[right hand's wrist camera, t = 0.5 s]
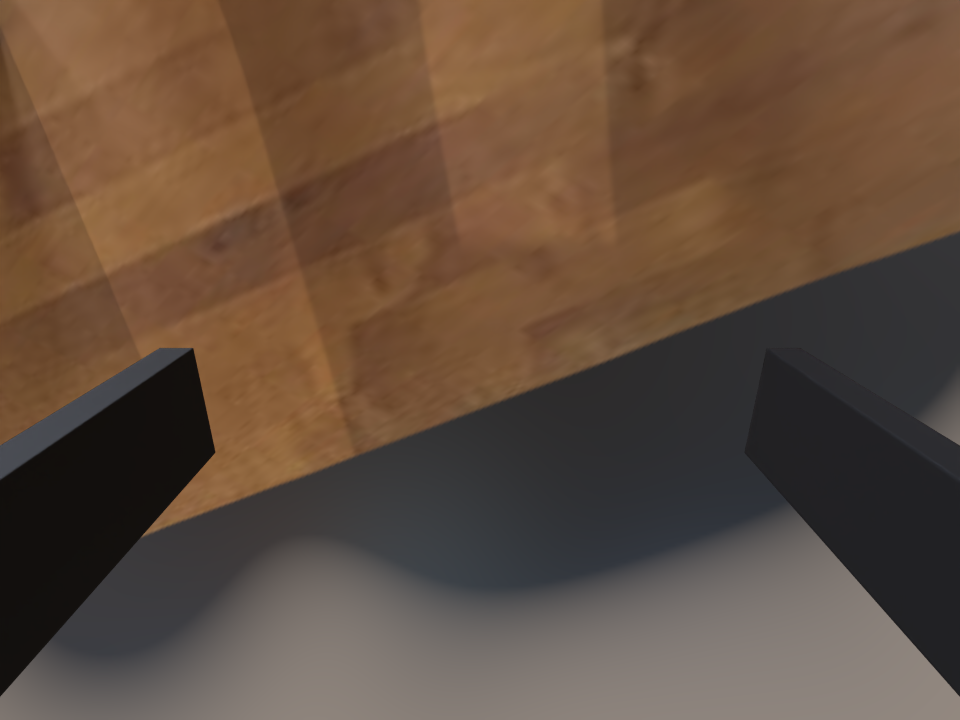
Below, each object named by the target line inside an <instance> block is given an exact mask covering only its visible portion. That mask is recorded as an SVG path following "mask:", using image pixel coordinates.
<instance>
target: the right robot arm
mask: <svg viewBox="0 0 960 720" xmlns="http://www.w3.org/2000/svg"><path fill="white" fill-rule="evenodd" d="M214 454H215V448H214V444H213V439H212V434H211V429H210V425H209V420H208V415H207V411H206V406H205V401H204V397H203V392H202V387H201V382H200V378H199V373H198V368H197V364H196V359H195V354H194V349H193V348H159V349H158V350H156V351H154V352H153V353H151V354H149V355H148V356H146V357H145V358H143V359H141V360H140V361H138V362H136V363H135V364H133V365H131V366H130V367H128V368H127V369H125V370H123V371H122V372H120V373H118V374H117V375H115V376H113V377H112V378H110V379H109V380H107V381H105V382H104V383H102V384H100V385H99V386H97V387H95V388H94V389H92V390H91V391H89V392H87V393H86V394H84V395H82V396H81V397H79V398H77V399H76V400H74V401H73V402H71V403H69V404H68V405H66V406H64V407H63V408H61V409H59V410H58V411H56V412H54V413H53V414H51V415H50V416H48V417H46V418H45V419H43V420H41V421H40V422H38V423H36V424H35V425H33V426H32V427H30V428H28V429H27V430H25V431H23V432H22V433H20V434H18V435H17V436H15V437H14V438H12V439H10V440H9V441H7V442H5V443H4V444H2V445H0V696H1V695H2V694H3V693H4V692H5V691H6V689H7V688H8V687H9V686H10V685H11V684H12V683H13V681H14V680H15V679H16V678H17V677H18V676H19V675H20V674H21V672H22V671H23V670H24V669H25V668H26V667H27V666H28V664H29V663H30V662H31V661H32V660H33V659H34V658H35V657H36V655H37V654H38V653H39V652H40V651H41V650H42V648H43V647H44V646H45V645H46V644H47V643H48V642H49V641H50V639H51V638H52V637H53V636H54V635H55V634H56V633H57V632H58V630H59V629H60V628H61V627H62V626H63V625H64V624H65V622H66V621H67V620H68V619H69V618H70V617H71V616H72V615H73V613H74V612H75V611H76V610H77V609H78V608H79V607H80V605H81V604H82V603H83V602H84V601H85V600H86V599H87V598H88V596H89V595H90V594H91V593H92V592H93V591H94V590H95V588H96V587H97V586H98V585H99V584H100V583H101V582H102V580H103V579H104V578H105V577H106V576H107V575H108V574H109V573H110V571H111V570H112V569H113V568H114V567H115V566H116V565H117V564H118V562H119V561H120V560H121V559H122V558H123V557H124V556H125V554H126V553H127V552H128V551H129V550H130V549H131V548H132V547H133V545H134V544H135V543H136V542H137V541H138V540H139V539H140V537H141V536H142V535H143V534H144V533H145V532H146V531H147V530H148V528H149V527H150V526H151V525H152V524H153V523H154V522H155V520H156V519H157V518H158V517H159V516H160V515H161V514H162V513H163V511H164V510H165V509H166V508H167V507H168V506H169V505H170V503H171V502H172V501H173V500H174V499H175V498H176V497H177V496H178V494H179V493H180V492H181V491H182V490H183V489H184V488H185V486H186V485H187V484H188V483H189V482H190V481H191V480H192V478H193V477H194V476H195V475H196V474H197V473H198V472H199V471H200V469H201V468H202V467H203V466H204V465H205V464H206V463H207V461H208V460H209V459H210V458H211V457H212V456H213V455H214ZM745 454H746V455H747V456H748V457H749V458H750V459H751V460H752V461H753V463H754V464H755V465H756V466H757V467H758V468H759V469H760V471H761V472H762V473H763V474H764V475H765V476H766V477H767V479H768V480H769V481H770V482H771V483H772V484H773V485H774V486H775V488H776V489H777V490H778V491H779V492H780V493H781V494H782V495H783V497H784V498H785V499H786V500H787V501H788V502H789V503H790V505H791V506H792V507H793V508H794V509H795V510H796V511H797V513H798V514H799V515H800V516H801V517H802V518H803V519H804V520H805V522H806V523H807V524H808V525H809V526H810V527H811V528H812V529H813V531H814V532H815V533H816V534H817V535H818V536H819V537H820V539H821V540H822V541H823V542H824V543H825V544H826V545H827V547H828V548H829V549H830V550H831V551H832V552H833V553H834V554H835V556H836V557H837V558H838V559H839V560H840V561H841V562H842V563H843V565H844V566H845V567H846V568H847V569H848V570H849V571H850V573H851V574H852V575H853V576H854V577H855V578H856V579H857V581H858V582H859V583H860V584H861V585H862V586H863V587H864V588H865V590H866V591H867V592H868V593H869V594H870V595H871V596H872V598H873V599H874V600H875V601H876V602H877V603H878V604H879V605H880V607H881V608H882V609H883V610H884V611H885V612H886V613H887V615H888V616H889V617H890V618H891V619H892V620H893V621H894V623H895V624H896V625H897V626H898V627H899V628H900V629H901V630H902V632H903V633H904V634H905V635H906V636H907V637H908V638H909V639H910V641H911V642H912V643H913V644H914V645H915V646H916V647H917V649H918V650H919V651H920V652H921V653H922V654H923V655H924V657H925V658H926V659H927V660H928V661H929V662H930V663H931V664H932V666H933V667H934V668H935V669H936V670H937V671H938V672H939V673H940V675H941V676H942V677H943V678H944V679H945V680H946V681H947V683H948V684H949V685H950V686H951V687H952V688H953V689H954V690H955V692H956V693H957V694H958V695H959V696H960V446H959V445H958V444H956V443H955V442H953V441H951V440H950V439H948V438H946V437H945V436H943V435H941V434H940V433H938V432H937V431H935V430H933V429H932V428H930V427H928V426H927V425H925V424H924V423H922V422H920V421H919V420H917V419H915V418H914V417H912V416H910V415H909V414H907V413H905V412H904V411H902V410H901V409H899V408H897V407H896V406H894V405H892V404H891V403H889V402H887V401H886V400H884V399H883V398H881V397H879V396H878V395H876V394H874V393H873V392H871V391H869V390H868V389H866V388H865V387H863V386H861V385H860V384H858V383H856V382H855V381H853V380H851V379H850V378H848V377H847V376H845V375H843V374H842V373H840V372H838V371H837V370H835V369H833V368H832V367H830V366H829V365H827V364H825V363H824V362H822V361H820V360H819V359H817V358H815V357H814V356H812V355H811V354H809V353H807V352H806V351H804V350H802V349H801V348H767V349H766V354H765V359H764V364H763V368H762V373H761V378H760V382H759V387H758V392H757V397H756V401H755V406H754V411H753V415H752V420H751V425H750V429H749V434H748V439H747V444H746V448H745Z"/></svg>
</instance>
